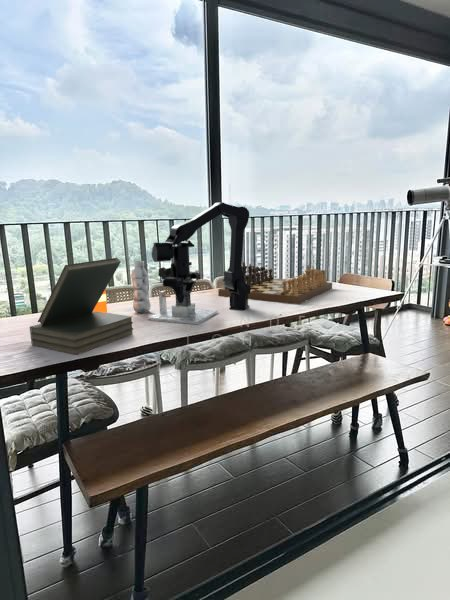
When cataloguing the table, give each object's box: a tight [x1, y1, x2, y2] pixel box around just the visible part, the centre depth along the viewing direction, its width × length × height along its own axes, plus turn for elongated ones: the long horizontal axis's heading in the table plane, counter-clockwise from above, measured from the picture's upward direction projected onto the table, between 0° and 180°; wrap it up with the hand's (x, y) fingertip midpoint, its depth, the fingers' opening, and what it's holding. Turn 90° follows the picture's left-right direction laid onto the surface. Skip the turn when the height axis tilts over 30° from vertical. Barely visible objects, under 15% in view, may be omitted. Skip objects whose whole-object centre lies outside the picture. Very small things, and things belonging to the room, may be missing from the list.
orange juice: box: [93, 290, 108, 313], centre depth 158 cm, size 8×9×20 cm
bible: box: [29, 257, 134, 356], centre depth 127 cm, size 23×20×25 cm
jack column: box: [174, 290, 192, 306], centre depth 155 cm, size 4×4×8 cm
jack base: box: [147, 290, 219, 325], centre depth 155 cm, size 20×18×9 cm
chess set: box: [217, 261, 333, 305], centre depth 198 cm, size 40×40×15 cm
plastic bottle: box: [130, 260, 152, 314], centre depth 162 cm, size 6×7×20 cm
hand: (183, 301), depth 155 cm, fingers closed on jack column, 4 cm apart
